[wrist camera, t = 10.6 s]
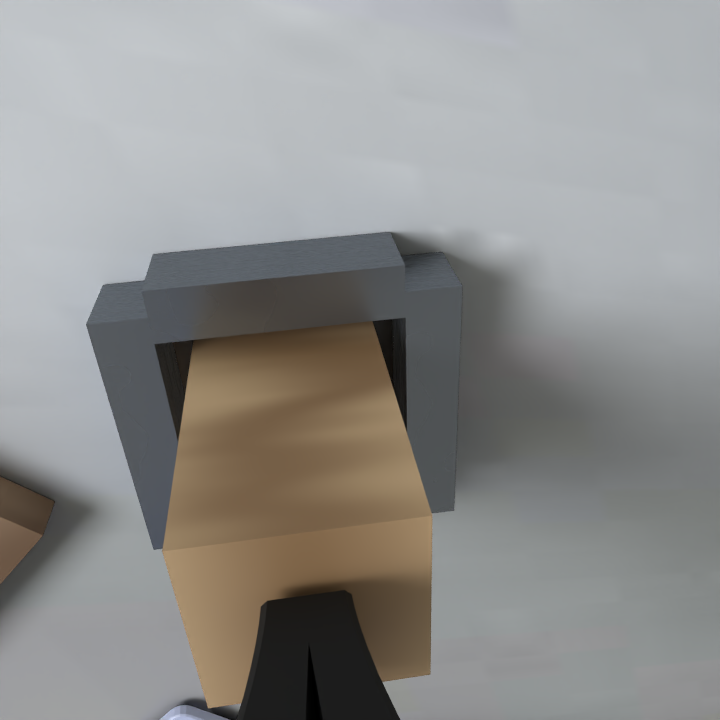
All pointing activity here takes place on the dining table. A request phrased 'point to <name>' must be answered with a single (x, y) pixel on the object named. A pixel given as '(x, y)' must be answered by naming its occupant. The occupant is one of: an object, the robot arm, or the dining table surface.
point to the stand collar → (20, 523)
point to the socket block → (277, 313)
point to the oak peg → (296, 499)
